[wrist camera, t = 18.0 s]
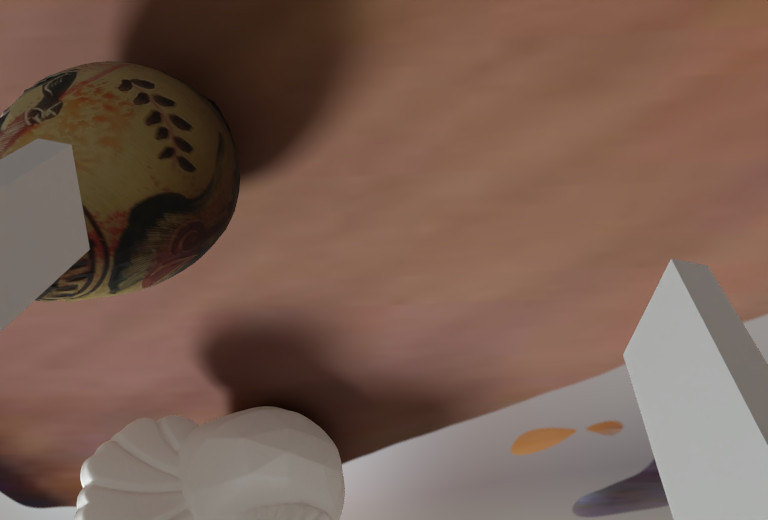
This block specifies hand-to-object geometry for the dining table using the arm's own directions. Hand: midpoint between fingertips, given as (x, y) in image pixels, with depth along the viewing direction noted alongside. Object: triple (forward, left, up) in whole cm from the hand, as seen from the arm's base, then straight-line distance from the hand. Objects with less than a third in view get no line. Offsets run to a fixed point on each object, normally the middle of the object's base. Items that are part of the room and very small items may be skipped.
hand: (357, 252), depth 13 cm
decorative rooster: (+41, -23, -32) cm, 57 cm away
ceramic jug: (+8, -23, -32) cm, 40 cm away
